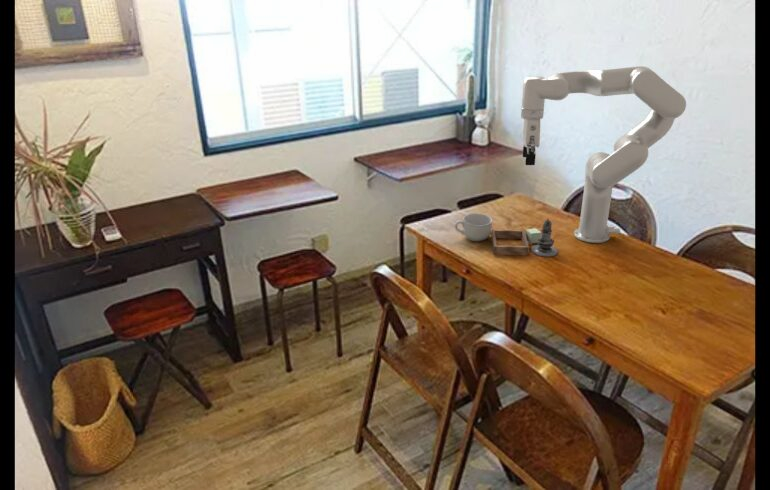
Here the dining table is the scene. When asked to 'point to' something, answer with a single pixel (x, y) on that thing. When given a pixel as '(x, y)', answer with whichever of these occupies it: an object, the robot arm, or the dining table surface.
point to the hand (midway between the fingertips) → (528, 160)
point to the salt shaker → (545, 238)
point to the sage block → (533, 235)
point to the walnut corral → (510, 249)
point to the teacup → (475, 226)
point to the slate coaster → (536, 252)
